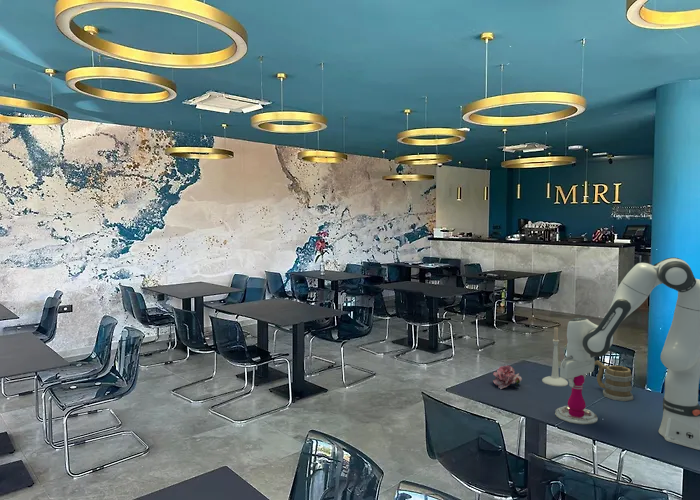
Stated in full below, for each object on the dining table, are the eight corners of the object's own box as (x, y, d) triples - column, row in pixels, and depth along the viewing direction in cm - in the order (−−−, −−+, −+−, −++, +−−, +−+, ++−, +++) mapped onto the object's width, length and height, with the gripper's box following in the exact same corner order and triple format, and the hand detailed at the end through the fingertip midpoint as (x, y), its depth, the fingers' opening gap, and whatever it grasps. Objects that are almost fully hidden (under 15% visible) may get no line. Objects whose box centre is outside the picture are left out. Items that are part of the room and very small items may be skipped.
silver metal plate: (605, 418, 212) (605, 414, 212) (582, 427, 203) (582, 423, 203) (570, 406, 227) (570, 402, 227) (547, 414, 218) (547, 409, 218)
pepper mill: (587, 418, 211) (588, 372, 210) (569, 417, 212) (570, 372, 211) (582, 411, 218) (583, 367, 217) (565, 410, 219) (566, 367, 218)
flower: (497, 373, 266) (498, 358, 262) (524, 382, 257) (526, 366, 254) (487, 388, 255) (488, 372, 251) (515, 398, 246) (516, 382, 243)
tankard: (638, 398, 235) (639, 368, 234) (619, 402, 231) (620, 371, 230) (603, 385, 254) (604, 357, 253) (585, 389, 249) (586, 360, 248)
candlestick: (572, 386, 254) (573, 329, 252) (547, 386, 254) (548, 329, 252) (561, 378, 266) (563, 324, 264) (538, 378, 266) (539, 324, 265)
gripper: (569, 359, 205) (568, 391, 206) (597, 352, 216) (596, 382, 217) (556, 356, 211) (555, 387, 211) (584, 349, 221) (583, 379, 222)
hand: (576, 385), depth 214 cm, fingers closed on pepper mill, 5 cm apart
